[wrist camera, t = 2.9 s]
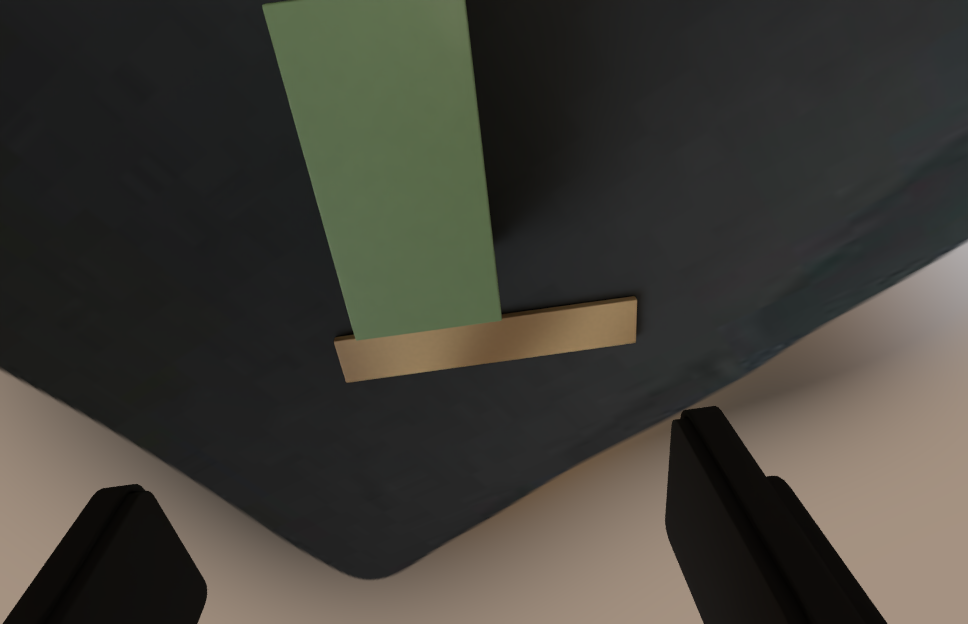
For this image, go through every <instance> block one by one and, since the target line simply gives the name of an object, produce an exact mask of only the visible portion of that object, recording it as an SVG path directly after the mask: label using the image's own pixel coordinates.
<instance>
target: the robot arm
mask: <svg viewBox="0 0 968 624" xmlns="http://www.w3.org/2000/svg"><path fill="white" fill-rule="evenodd" d="M667 486H668V487H667V501H666V515H665V525H666V530H667V535H668V538H669V541H670V544H671V546H672V548H673V551H674V553H675V556H676V558H677V560H678V563H679V565H680V568H681V570H682V572H683V575H684V577H685V580H686V582H687V584H688V587H689V589H690V591H691V594H692V596H693V599H694V601H695V604H696V606H697V608H698V611H699V613H700V616H701V618H702V620H703V623H704V624H887V622H886V621H885V620H884V618H883V617H882V615H881V614H880V613H879V611H878V610H877V608H876V607H875V606H874V604H873V603H872V602H871V600H870V599H869V597H868V596H867V594H866V593H865V591H864V590H863V589H862V587H861V586H860V584H859V583H858V582H857V580H856V579H855V578H854V576H853V575H852V574H851V572H850V571H849V569H848V568H847V566H846V565H845V563H844V562H843V561H842V559H841V558H840V556H839V555H838V554H837V552H836V551H835V549H834V548H833V547H832V545H831V544H830V542H829V541H828V540H827V538H826V537H825V535H824V534H823V533H822V531H821V530H820V528H819V527H818V525H817V524H816V523H815V521H814V520H813V519H812V517H811V516H810V514H809V513H808V511H807V510H806V509H805V507H804V506H803V504H802V503H801V502H800V500H799V499H798V497H797V496H796V495H795V493H794V492H793V490H792V489H791V488H790V487H789V485H788V484H787V483H786V482H785V481H784V480H783V479H781V478H780V477H778V476H767V477H766V476H765V475H764V473H763V472H762V470H761V469H760V467H759V466H758V464H757V463H756V461H755V460H754V458H753V457H752V455H751V454H750V452H749V451H748V450H747V448H746V447H745V445H744V444H743V442H742V441H741V439H740V438H739V436H738V435H737V433H736V432H735V430H734V429H733V427H732V426H731V424H730V423H729V421H728V420H727V418H726V417H725V416H724V414H723V412H722V411H721V410H720V409H719V408H718V407H716V406H711V407H704V408H697V409H689V410H684V411H683V412H682V413H681V419H677V420H673V422H672V428H671V443H670V456H669V471H668V485H667ZM206 598H207V585H206V583H205V580H204V579H203V577H202V575H201V573H200V572H199V570H198V568H197V567H196V565H195V563H194V562H193V560H192V558H191V557H190V555H189V553H188V552H187V550H186V548H185V547H184V545H183V543H182V542H181V540H180V538H179V537H178V535H177V533H176V532H175V530H174V528H173V527H172V525H171V523H170V522H169V520H168V518H167V517H166V515H165V513H164V512H163V510H162V509H161V507H160V505H159V503H158V502H157V500H156V498H155V497H154V495H153V494H152V493H151V492H149V491H145V490H144V489H143V488H142V486H140V485H138V484H132V485H124V486H117V487H109V488H103V489H101V490H99V491H97V492H96V493H95V494H94V495H93V496H92V498H91V499H90V501H89V502H88V504H87V505H86V506H85V508H84V509H83V511H82V512H81V513H80V515H79V516H78V518H77V519H76V521H75V522H74V523H73V525H72V526H71V528H70V529H69V530H68V532H67V533H66V535H65V536H64V537H63V539H62V540H61V542H60V543H59V545H58V546H57V547H56V549H55V550H54V552H53V553H52V554H51V556H50V557H49V559H48V560H47V561H46V563H45V564H44V566H43V567H42V569H41V570H40V571H39V573H38V574H37V576H36V577H35V578H34V580H33V581H32V583H31V584H30V586H29V587H28V588H27V590H26V591H25V593H24V594H23V596H22V597H21V598H20V600H19V601H18V603H17V604H16V605H15V607H14V608H13V610H12V611H11V612H10V614H9V615H8V617H7V618H6V620H5V621H4V622H3V624H197V623H198V621H199V618H200V615H201V613H202V610H203V608H204V605H205V602H206Z"/></svg>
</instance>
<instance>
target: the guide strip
mask: <svg viewBox="0 0 968 624" xmlns="http://www.w3.org/2000/svg"><path fill="white" fill-rule="evenodd" d="M636 322H637V299H636V297H635V296H631V297H624V298H617V299H609V300H602V301H595V302H588V303H580V304H573V305H566V306H558V307H551V308H544V309H537V310H529V311H522V312H515V313H508V314H502V321H497V322H489V323H482V324H475V325H467V326H460V327H453V328H446V329H438V330H431V331H424V332H417V333H409V334H402V335H395V336H388V337H380V338H373V339H366V340H359V341H356V339H355V336H354V335H348V336H341V337H335V339H334V344H335V347H336V351H337V354H338V357H339V360H340V364H341V367H342V370H343V374H344V377H345V380H346V383H348V382H355V381H362V380H370V379H377V378H384V377H391V376H399V375H406V374H413V373H420V372H428V371H435V370H442V369H449V368H456V367H464V366H471V365H478V364H485V363H493V362H500V361H507V360H514V359H522V358H529V357H536V356H543V355H550V354H558V353H565V352H572V351H579V350H587V349H594V348H601V347H608V346H616V345H623V344H630V343H636Z"/></svg>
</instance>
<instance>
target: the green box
mask: <svg viewBox="0 0 968 624" xmlns="http://www.w3.org/2000/svg"><path fill="white" fill-rule="evenodd" d="M262 8H263V12H264V15H265V19H266V22H267V26H268V29H269V33H270V37H271V40H272V44H273V47H274V51H275V54H276V58H277V62H278V65H279V69H280V72H281V76H282V79H283V83H284V86H285V90H286V94H287V97H288V101H289V104H290V108H291V111H292V115H293V119H294V122H295V126H296V129H297V133H298V136H299V140H300V144H301V147H302V151H303V154H304V158H305V161H306V165H307V169H308V172H309V176H310V179H311V183H312V186H313V190H314V193H315V197H316V201H317V204H318V208H319V211H320V215H321V218H322V222H323V226H324V229H325V233H326V236H327V240H328V243H329V247H330V251H331V254H332V258H333V261H334V265H335V268H336V272H337V275H338V279H339V283H340V286H341V290H342V293H343V297H344V300H345V304H346V308H347V311H348V315H349V318H350V322H351V325H352V329H353V333H354V336H355V339H356V341H359V340H366V339H373V338H380V337H388V336H395V335H402V334H409V333H417V332H424V331H431V330H438V329H446V328H453V327H460V326H467V325H475V324H482V323H489V322H497V321H502V314H501V305H500V297H499V288H498V279H497V271H496V262H495V253H494V244H493V236H492V227H491V218H490V210H489V201H488V192H487V183H486V175H485V166H484V157H483V148H482V140H481V131H480V122H479V114H478V105H477V96H476V87H475V79H474V70H473V61H472V53H471V44H470V35H469V26H468V18H467V9H466V0H289V1H281V2H274V3H266V4H263V5H262Z"/></svg>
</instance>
